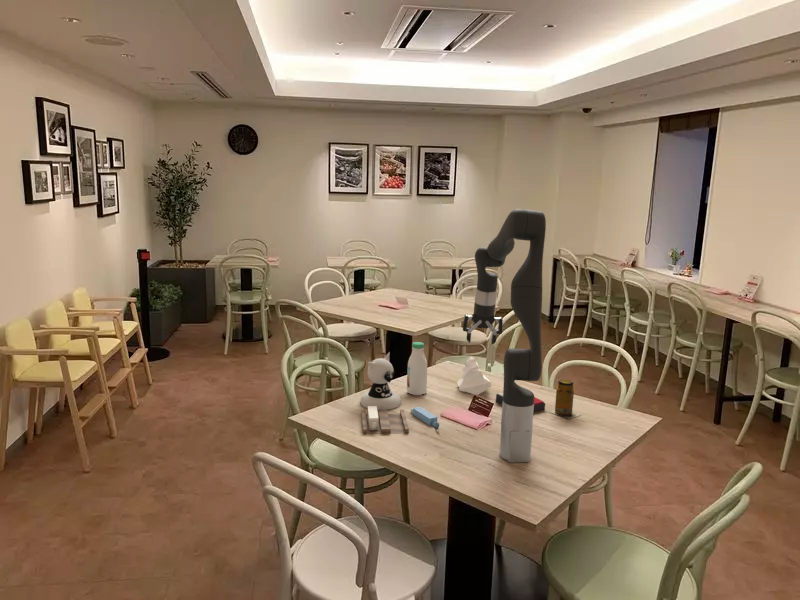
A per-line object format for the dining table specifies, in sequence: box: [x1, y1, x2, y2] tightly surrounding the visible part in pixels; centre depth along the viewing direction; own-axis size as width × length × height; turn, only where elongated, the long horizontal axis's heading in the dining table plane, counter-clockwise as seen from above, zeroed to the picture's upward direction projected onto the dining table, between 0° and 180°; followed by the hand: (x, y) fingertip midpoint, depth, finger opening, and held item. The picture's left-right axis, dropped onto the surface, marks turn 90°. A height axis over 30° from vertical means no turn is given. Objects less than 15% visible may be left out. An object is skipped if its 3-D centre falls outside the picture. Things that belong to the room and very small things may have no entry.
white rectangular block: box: [367, 406, 379, 430], centre depth 205 cm, size 15×3×4 cm, turn 5°
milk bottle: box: [406, 341, 428, 396], centre depth 239 cm, size 8×8×20 cm
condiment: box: [550, 379, 581, 419], centre depth 222 cm, size 7×8×12 cm
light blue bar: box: [410, 406, 440, 429], centre depth 211 cm, size 15×3×4 cm, turn 30°
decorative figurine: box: [360, 351, 402, 411], centre depth 223 cm, size 15×15×20 cm
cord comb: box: [361, 409, 410, 435], centre depth 206 cm, size 17×15×3 cm
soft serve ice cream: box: [456, 356, 492, 396], centre depth 246 cm, size 12×15×14 cm
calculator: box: [495, 391, 546, 414], centre depth 229 cm, size 11×4×15 cm
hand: (480, 342), depth 228 cm, fingers open, 8 cm apart
